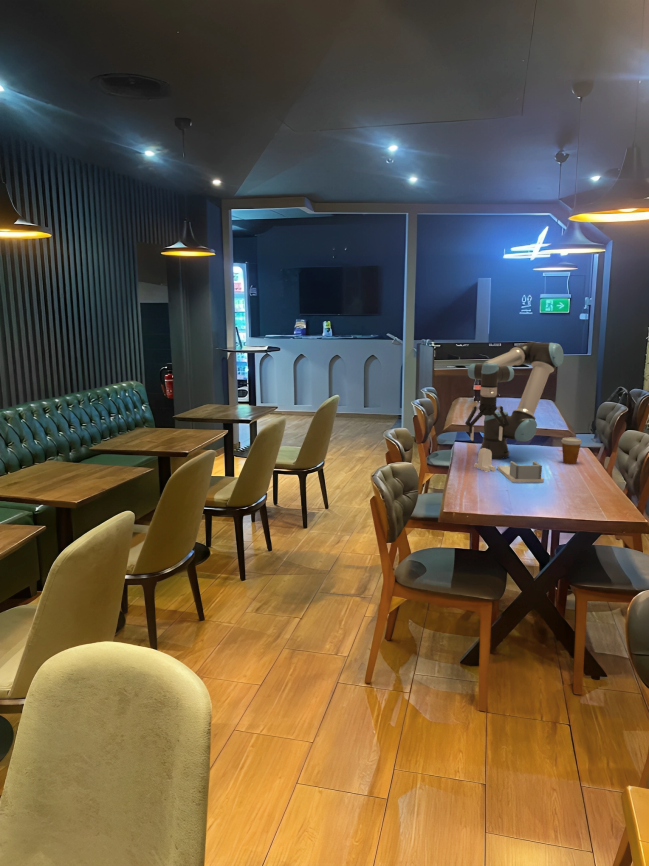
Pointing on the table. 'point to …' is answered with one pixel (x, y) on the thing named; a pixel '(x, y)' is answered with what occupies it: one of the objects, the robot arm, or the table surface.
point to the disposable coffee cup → (570, 449)
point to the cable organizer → (485, 460)
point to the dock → (522, 472)
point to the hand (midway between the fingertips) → (486, 440)
